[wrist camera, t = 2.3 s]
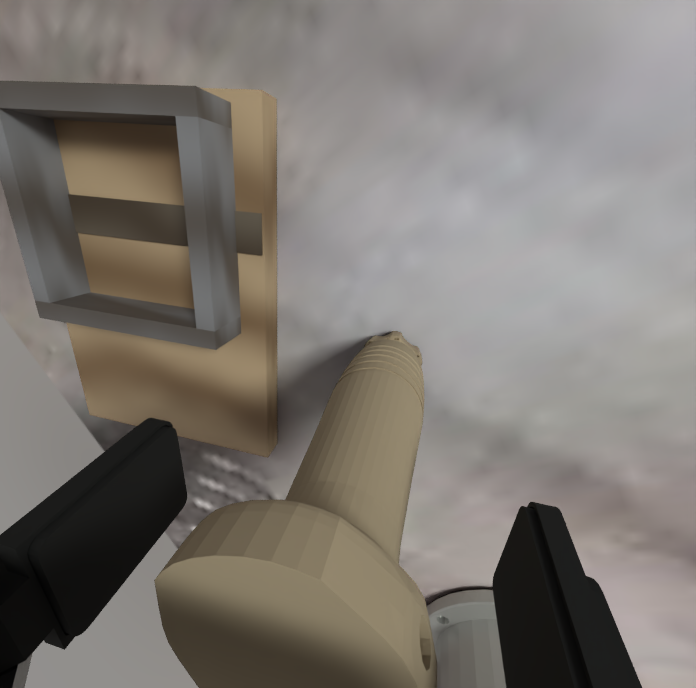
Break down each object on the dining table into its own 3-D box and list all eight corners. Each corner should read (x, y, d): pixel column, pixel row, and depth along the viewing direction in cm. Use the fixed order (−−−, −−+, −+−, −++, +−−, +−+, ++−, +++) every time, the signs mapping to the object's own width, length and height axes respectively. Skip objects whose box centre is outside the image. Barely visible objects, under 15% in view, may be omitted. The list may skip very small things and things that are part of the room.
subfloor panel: (277, 443, 24) (248, 485, 21) (107, 404, 27) (56, 435, 23) (276, 99, 16) (230, 70, 13) (36, 90, 19) (-58, 65, 15)
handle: (370, 411, 22) (252, 762, 8) (334, 314, 20) (107, 558, 6) (449, 397, 20) (469, 808, 6) (419, 290, 18) (359, 550, 5)
